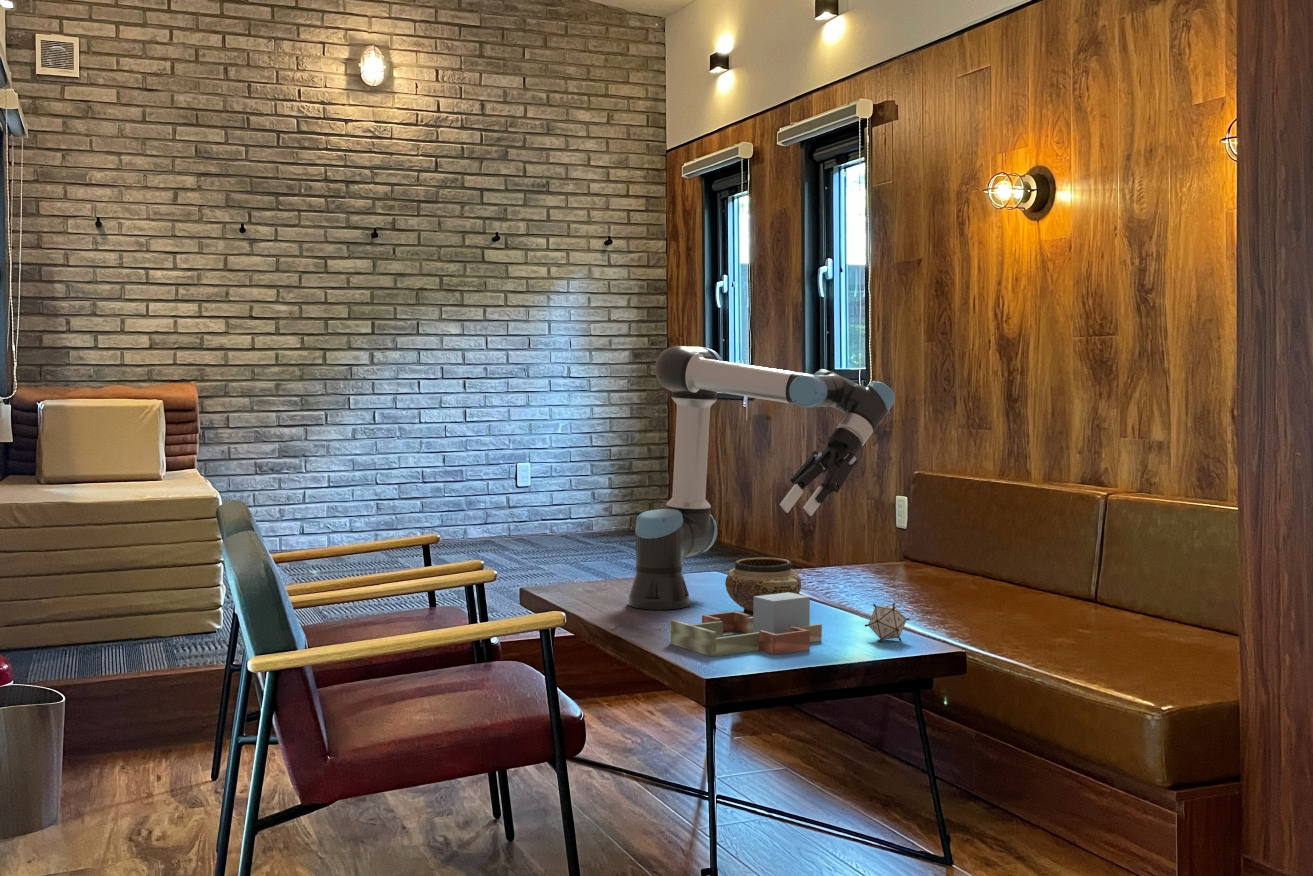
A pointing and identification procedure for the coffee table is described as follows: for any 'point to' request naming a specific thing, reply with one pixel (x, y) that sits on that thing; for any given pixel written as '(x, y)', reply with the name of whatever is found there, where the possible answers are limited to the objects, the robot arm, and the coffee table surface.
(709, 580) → the coffee table surface
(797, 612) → the slate block
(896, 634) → the game die
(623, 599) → the coffee table surface
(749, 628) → the low zigzag wall
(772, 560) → the ceramic bowl
